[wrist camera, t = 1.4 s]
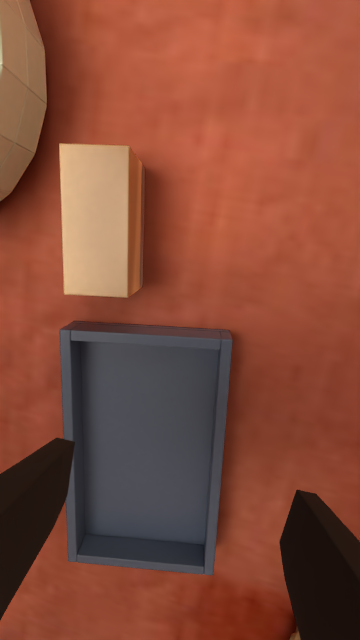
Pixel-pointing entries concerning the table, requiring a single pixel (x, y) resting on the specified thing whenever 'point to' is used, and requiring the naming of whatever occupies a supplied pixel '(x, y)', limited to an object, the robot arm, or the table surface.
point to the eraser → (102, 219)
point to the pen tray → (144, 443)
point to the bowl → (19, 90)
